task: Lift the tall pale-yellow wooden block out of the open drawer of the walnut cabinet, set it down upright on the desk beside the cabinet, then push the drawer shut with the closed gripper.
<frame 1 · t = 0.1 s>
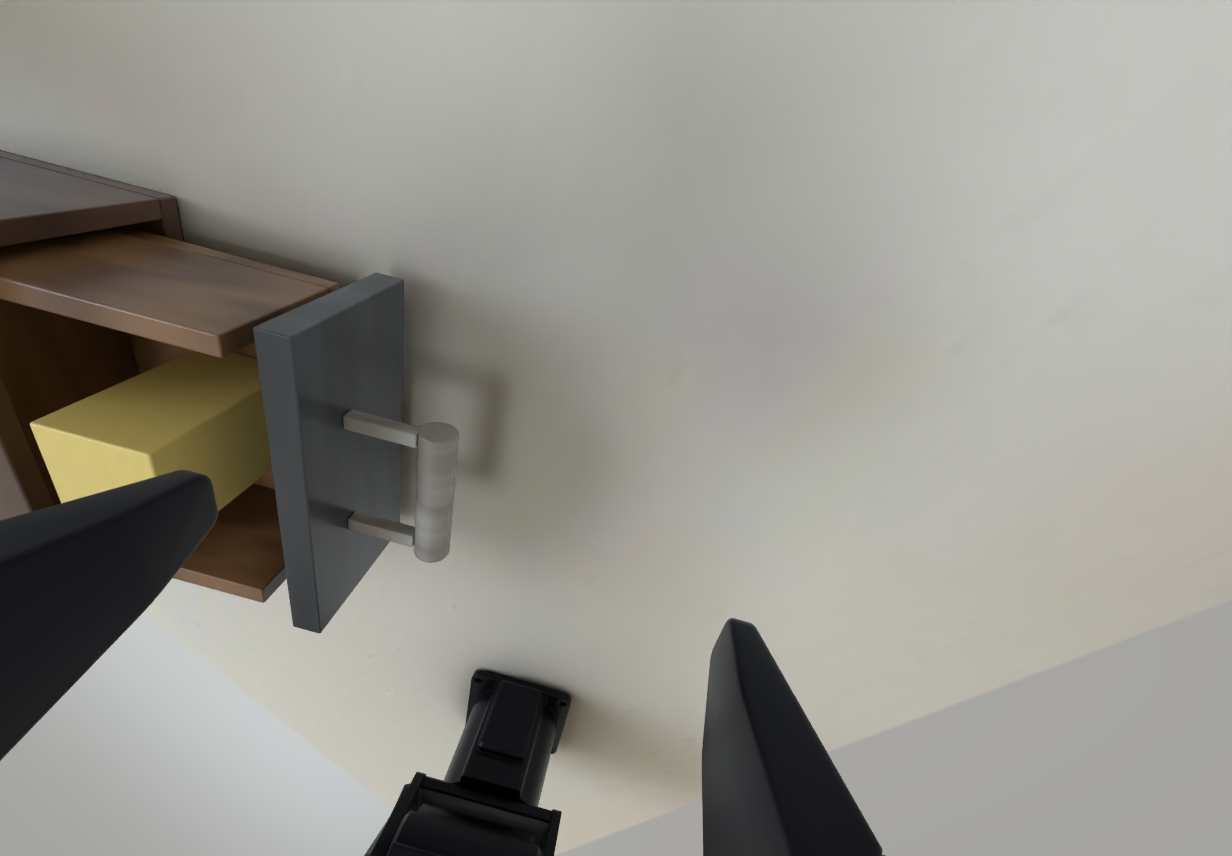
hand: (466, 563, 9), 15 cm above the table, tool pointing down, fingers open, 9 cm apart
cabinet: (71, 320, 26), on the table
drawer: (263, 434, 22), point 4 cm above the table, slide at 9.0 cm, touching block
block: (256, 396, 24), point 2 cm above the table, touching drawer
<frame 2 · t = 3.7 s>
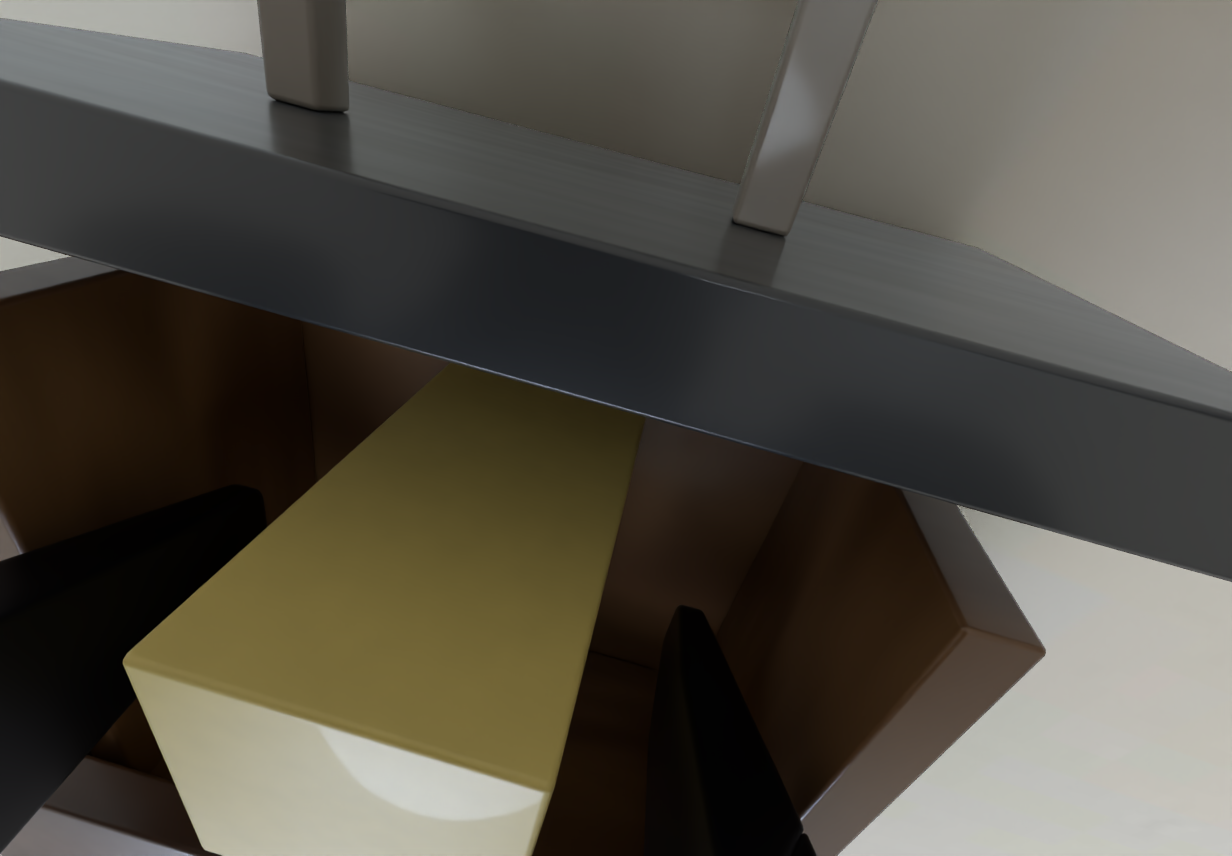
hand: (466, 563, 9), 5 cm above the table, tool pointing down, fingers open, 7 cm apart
cabinet: (510, 672, 19), on the table
drawer: (512, 440, 9), point 4 cm above the table, slide at 8.8 cm, touching block, gripper
block: (536, 463, 12), point 2 cm above the table, touching drawer
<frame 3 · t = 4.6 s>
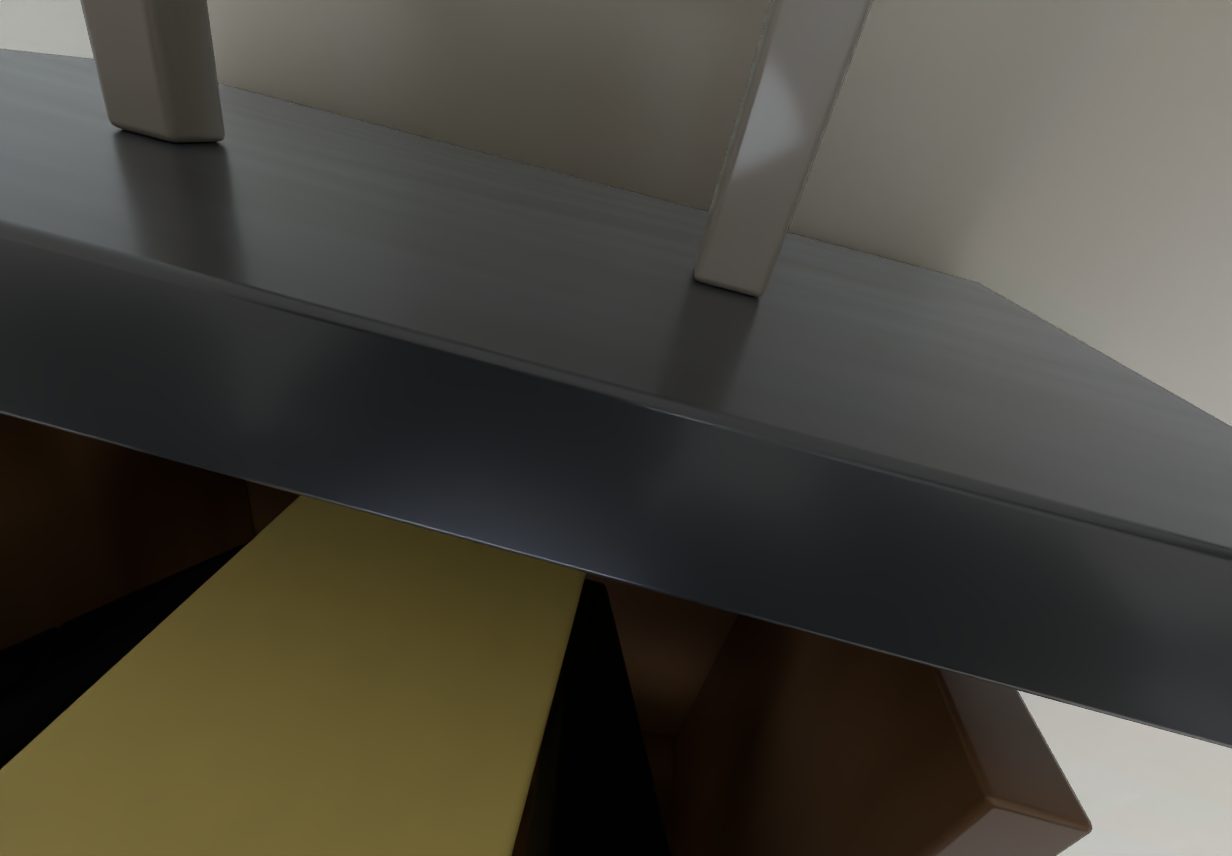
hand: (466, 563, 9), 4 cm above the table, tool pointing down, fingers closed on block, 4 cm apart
drawer: (455, 509, 7), point 4 cm above the table, slide at 8.7 cm, touching block
block: (495, 516, 11), point 2 cm above the table, touching drawer, gripper
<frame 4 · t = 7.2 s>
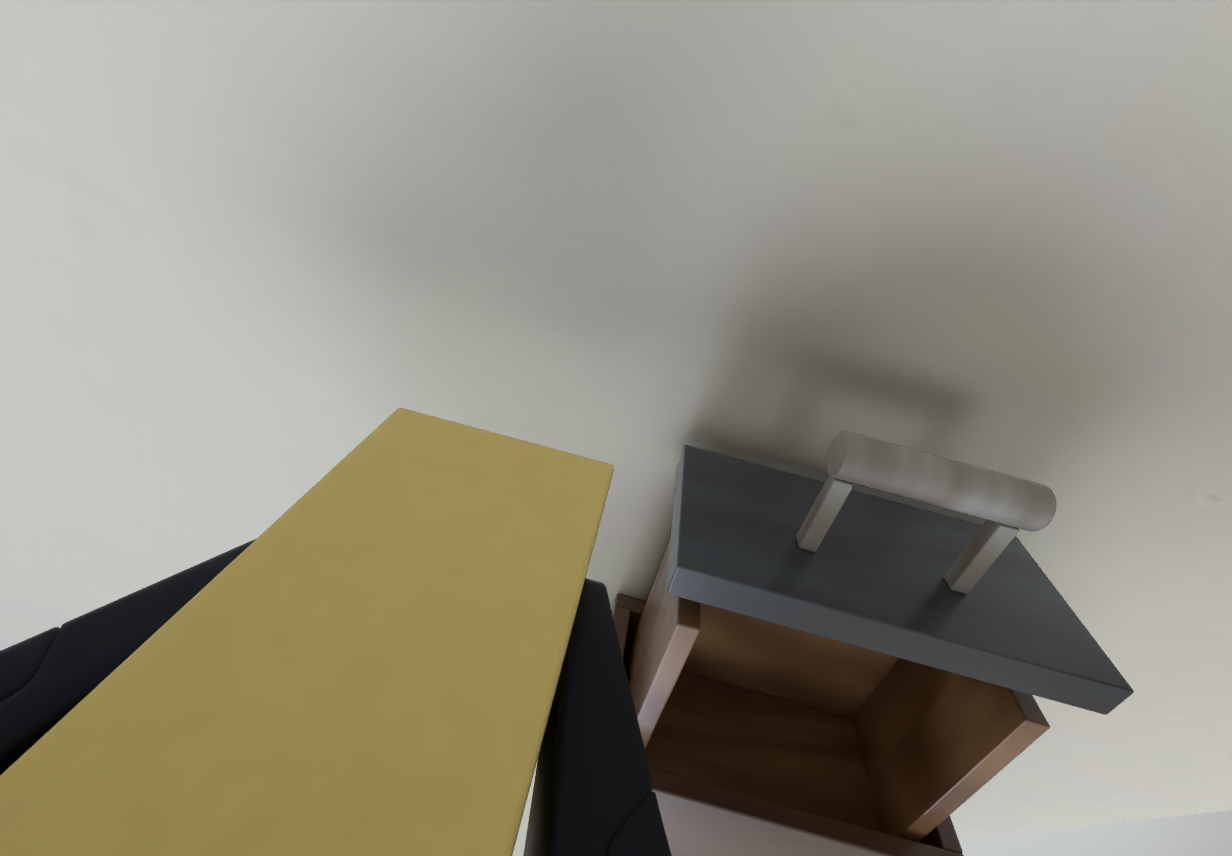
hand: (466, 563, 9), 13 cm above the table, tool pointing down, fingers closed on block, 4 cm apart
cabinet: (715, 708, 30), on the table
drawer: (821, 626, 20), point 4 cm above the table, slide at 8.7 cm
block: (495, 518, 11), point 11 cm above the table, touching gripper
when the fingers open (2 cm above the table, at t = 10.2 s): block stays where it is, on the table.
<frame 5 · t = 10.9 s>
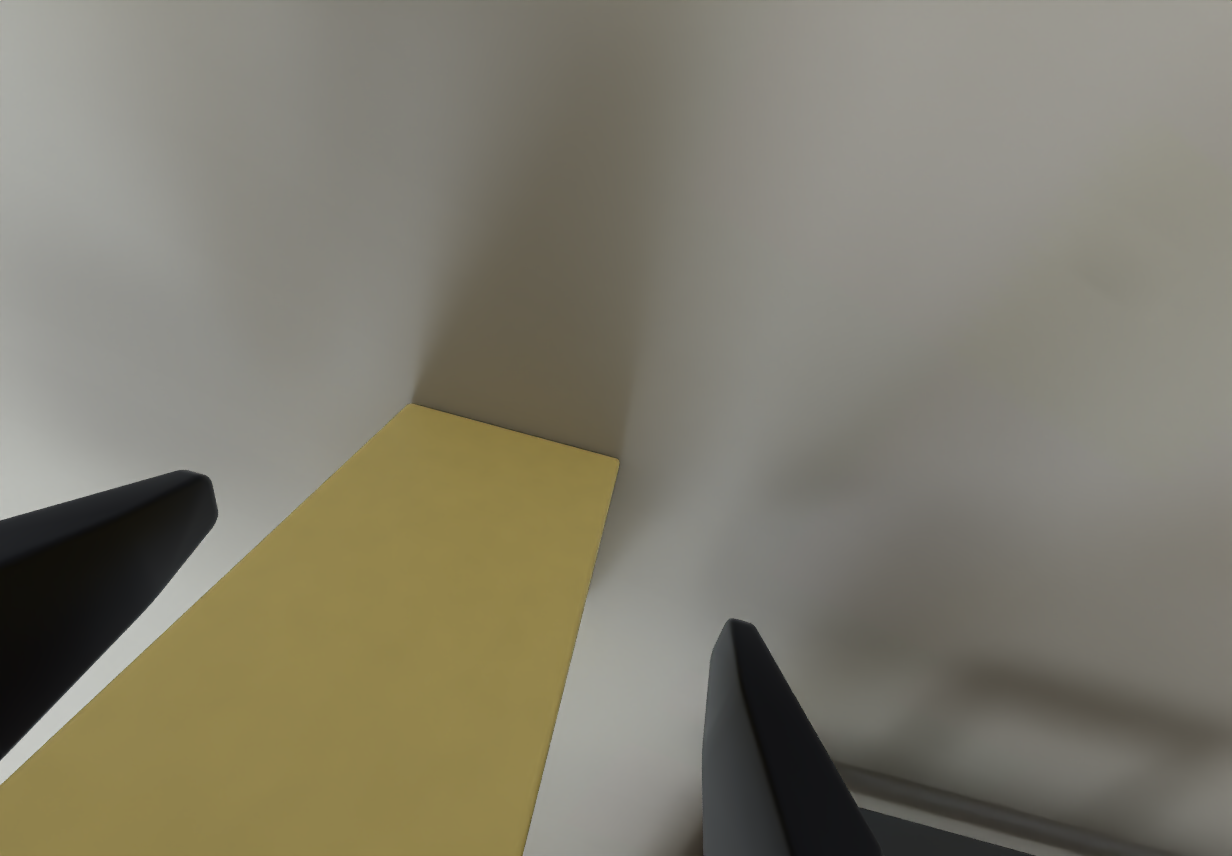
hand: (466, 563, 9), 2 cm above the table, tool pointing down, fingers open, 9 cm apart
block: (502, 512, 11), on the table
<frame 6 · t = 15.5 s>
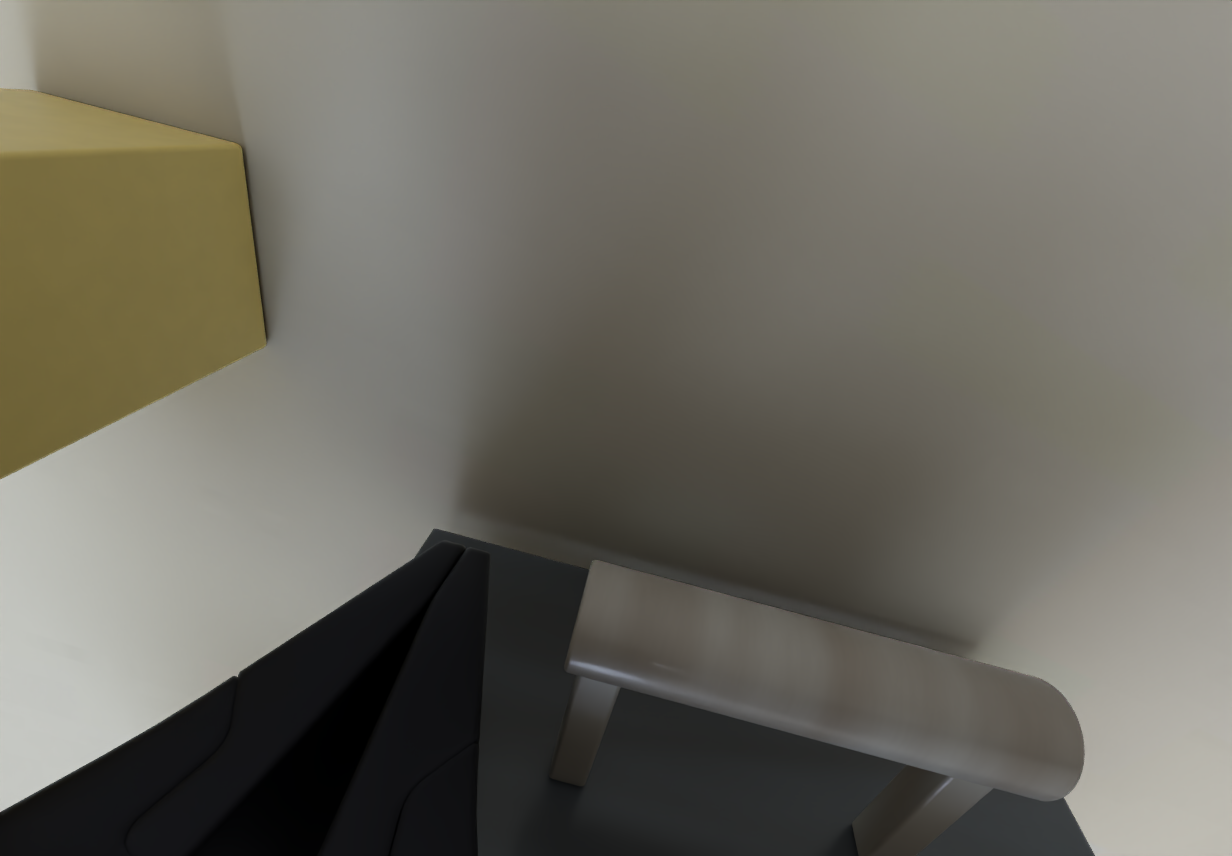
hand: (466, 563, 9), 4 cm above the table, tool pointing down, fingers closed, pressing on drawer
drawer: (658, 855, 11), point 4 cm above the table, slide at 8.7 cm, touching gripper
block: (161, 229, 11), on the table
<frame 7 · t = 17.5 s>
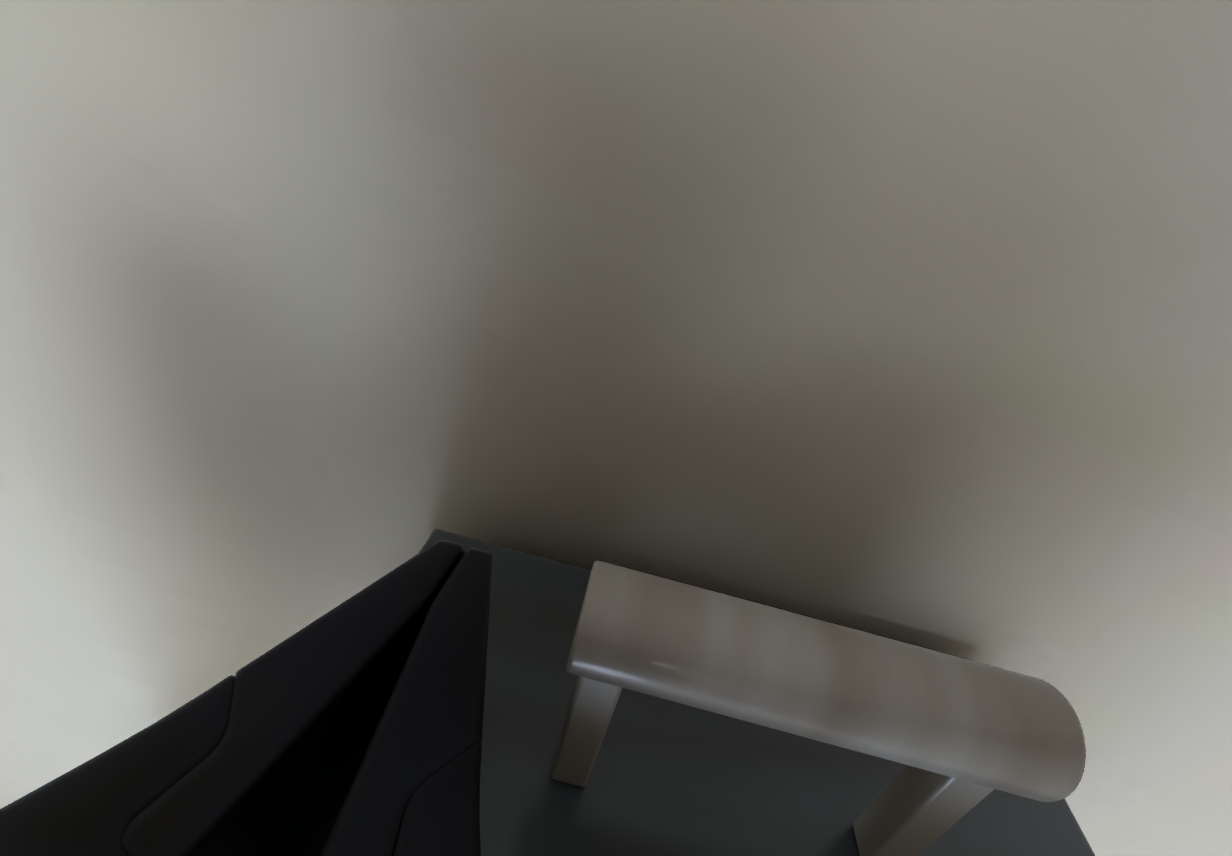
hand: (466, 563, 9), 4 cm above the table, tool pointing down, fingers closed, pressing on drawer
drawer: (659, 855, 11), point 4 cm above the table, slide at 0.7 cm, touching gripper
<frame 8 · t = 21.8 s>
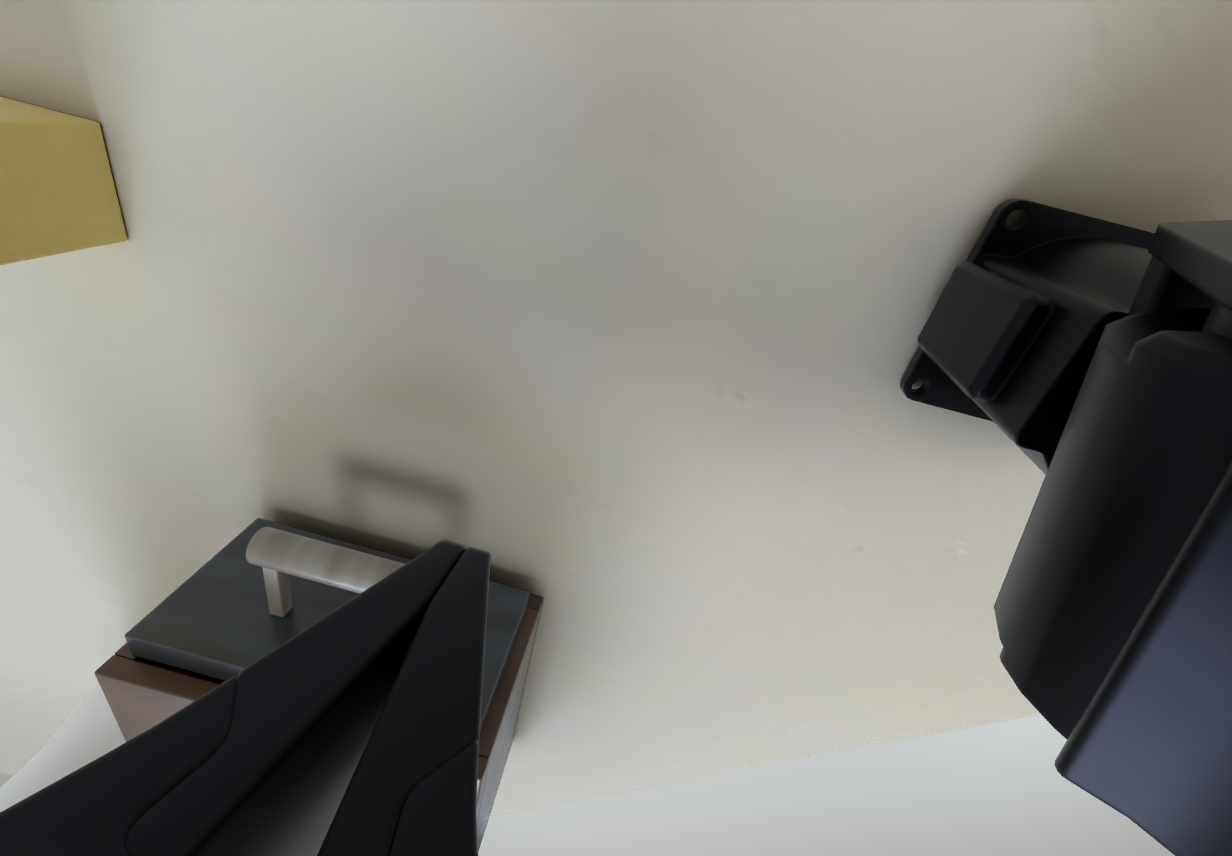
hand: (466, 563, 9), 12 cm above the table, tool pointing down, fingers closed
cabinet: (400, 645, 30), on the table
drawer: (355, 670, 24), point 4 cm above the table, slide at 0.0 cm
water bottle: (194, 673, 35), on the table
block: (62, 170, 19), on the table
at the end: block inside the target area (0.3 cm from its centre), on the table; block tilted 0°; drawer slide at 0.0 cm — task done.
